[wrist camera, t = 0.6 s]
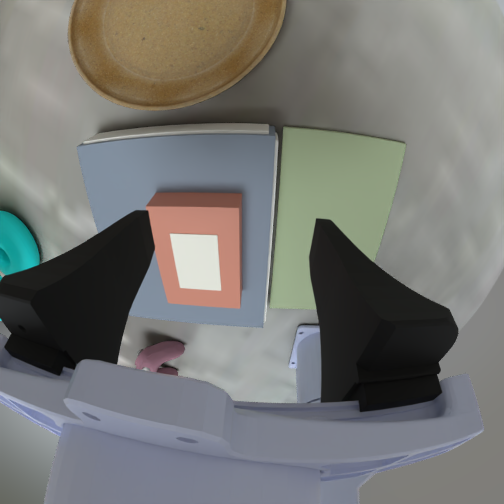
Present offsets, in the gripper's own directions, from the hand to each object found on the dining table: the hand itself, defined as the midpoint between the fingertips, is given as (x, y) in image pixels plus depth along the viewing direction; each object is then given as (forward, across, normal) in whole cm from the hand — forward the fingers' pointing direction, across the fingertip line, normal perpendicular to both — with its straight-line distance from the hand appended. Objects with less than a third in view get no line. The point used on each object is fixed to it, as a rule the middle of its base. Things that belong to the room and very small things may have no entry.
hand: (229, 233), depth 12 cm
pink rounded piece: (+10, +11, +28) cm, 32 cm away
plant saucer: (+10, +5, -11) cm, 16 cm away
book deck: (+10, +5, +7) cm, 13 cm away
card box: (+7, +3, +6) cm, 10 cm away
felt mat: (+10, -7, +6) cm, 14 cm away
